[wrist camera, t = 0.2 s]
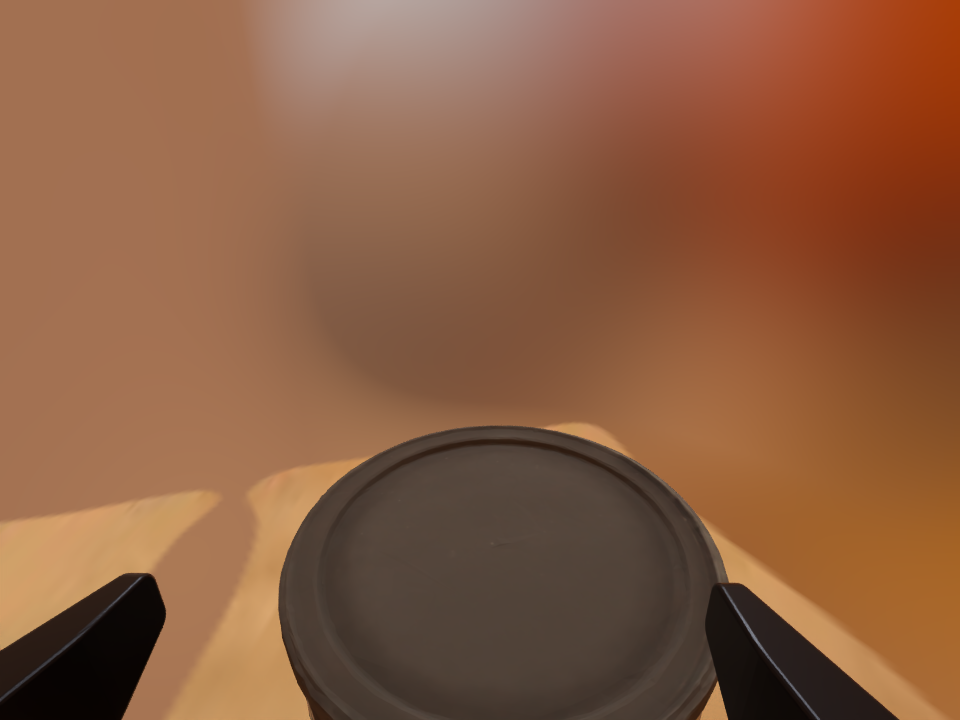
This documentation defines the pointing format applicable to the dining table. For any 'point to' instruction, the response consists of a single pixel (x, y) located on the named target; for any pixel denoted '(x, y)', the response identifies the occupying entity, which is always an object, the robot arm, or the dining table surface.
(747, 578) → the dining table surface
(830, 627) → the dining table surface
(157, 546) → the dining table surface
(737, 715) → the robot arm
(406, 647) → the coffee can
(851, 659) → the dining table surface
